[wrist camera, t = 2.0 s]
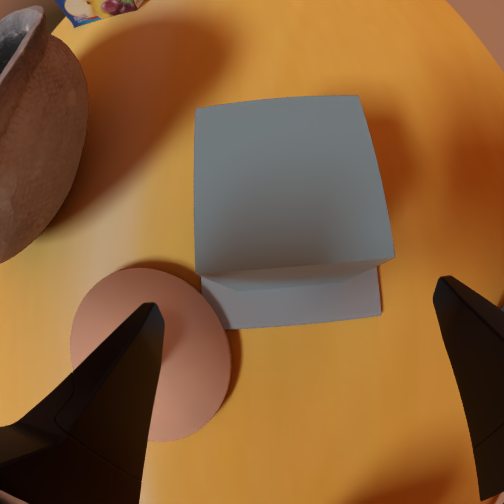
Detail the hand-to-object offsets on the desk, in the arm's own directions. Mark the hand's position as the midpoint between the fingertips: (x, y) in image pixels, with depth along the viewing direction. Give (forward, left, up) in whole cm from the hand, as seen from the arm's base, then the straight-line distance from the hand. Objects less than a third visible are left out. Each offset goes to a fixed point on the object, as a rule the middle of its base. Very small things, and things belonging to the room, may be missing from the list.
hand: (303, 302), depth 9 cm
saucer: (-8, +8, -11) cm, 16 cm away
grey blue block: (+4, +2, -11) cm, 12 cm away
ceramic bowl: (+1, +27, -12) cm, 30 cm away
